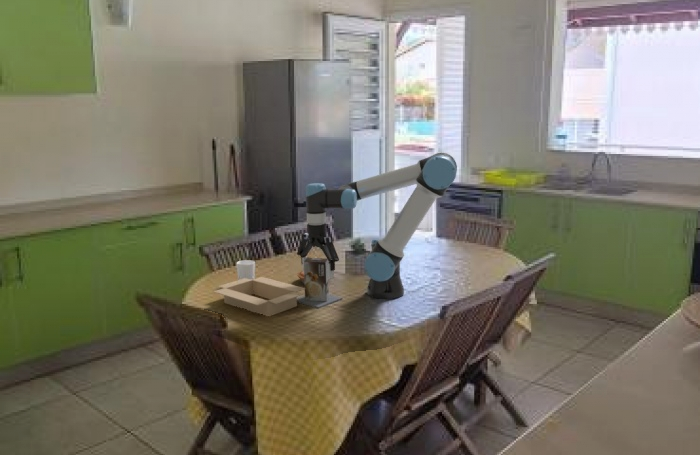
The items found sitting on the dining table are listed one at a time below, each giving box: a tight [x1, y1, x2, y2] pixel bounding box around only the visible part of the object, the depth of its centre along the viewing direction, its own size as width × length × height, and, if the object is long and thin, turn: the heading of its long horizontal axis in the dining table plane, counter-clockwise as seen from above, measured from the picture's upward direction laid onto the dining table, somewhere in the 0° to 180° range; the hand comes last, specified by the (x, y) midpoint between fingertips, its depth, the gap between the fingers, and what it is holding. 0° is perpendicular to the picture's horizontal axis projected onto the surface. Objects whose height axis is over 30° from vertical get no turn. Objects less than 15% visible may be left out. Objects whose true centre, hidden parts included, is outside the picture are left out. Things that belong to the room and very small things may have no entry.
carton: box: [213, 276, 305, 317], centre depth 247 cm, size 33×25×6 cm
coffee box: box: [304, 257, 330, 301], centre depth 251 cm, size 9×6×16 cm
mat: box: [297, 294, 343, 309], centre depth 253 cm, size 14×14×1 cm
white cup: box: [236, 259, 256, 280], centre depth 273 cm, size 8×8×10 cm
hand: (318, 275), depth 251 cm, fingers open, 13 cm apart
